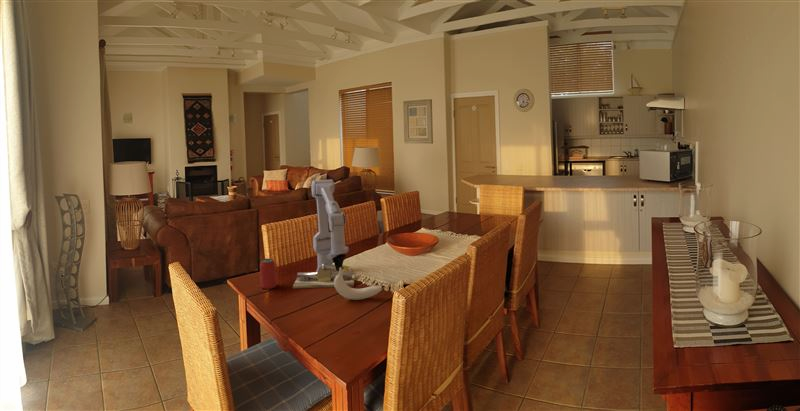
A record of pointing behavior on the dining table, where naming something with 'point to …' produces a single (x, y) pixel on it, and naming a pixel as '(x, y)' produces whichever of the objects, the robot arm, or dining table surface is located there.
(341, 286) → the banana
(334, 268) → the lever
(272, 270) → the beer can
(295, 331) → the dining table surface
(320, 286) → the valve board
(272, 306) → the dining table surface
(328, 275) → the valve
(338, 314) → the dining table surface
